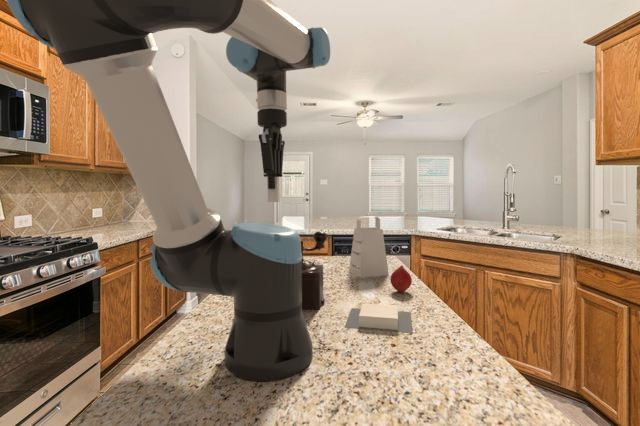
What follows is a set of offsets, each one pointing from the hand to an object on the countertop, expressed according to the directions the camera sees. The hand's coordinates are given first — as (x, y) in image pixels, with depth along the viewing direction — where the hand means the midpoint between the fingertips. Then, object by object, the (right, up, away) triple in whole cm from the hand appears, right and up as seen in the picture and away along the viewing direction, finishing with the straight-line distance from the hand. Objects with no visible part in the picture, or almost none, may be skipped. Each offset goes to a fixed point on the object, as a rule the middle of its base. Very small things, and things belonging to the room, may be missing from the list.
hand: (273, 201), depth 89 cm
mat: (+26, -27, -13) cm, 40 cm away
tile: (+26, -25, -11) cm, 38 cm away
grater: (+29, -24, +31) cm, 49 cm away
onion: (+35, -26, +7) cm, 44 cm away
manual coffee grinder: (+8, -27, +1) cm, 28 cm away
